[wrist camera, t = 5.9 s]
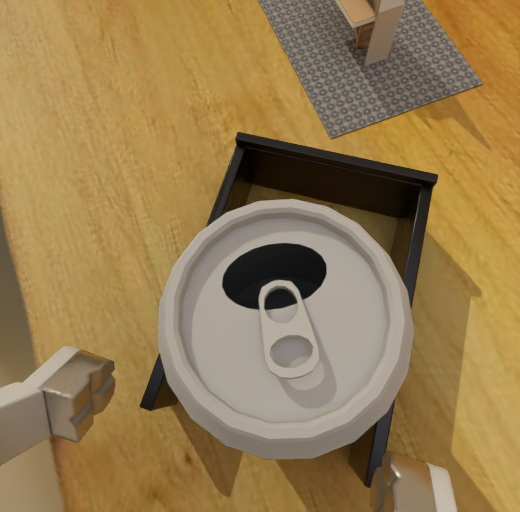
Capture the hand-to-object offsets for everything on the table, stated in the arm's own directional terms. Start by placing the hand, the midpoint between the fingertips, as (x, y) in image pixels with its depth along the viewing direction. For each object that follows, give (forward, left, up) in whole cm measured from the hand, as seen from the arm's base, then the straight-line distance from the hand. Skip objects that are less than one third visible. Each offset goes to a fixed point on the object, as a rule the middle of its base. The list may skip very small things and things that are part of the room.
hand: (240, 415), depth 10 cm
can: (+3, +1, -10) cm, 10 cm away
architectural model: (+22, +15, -10) cm, 28 cm away
